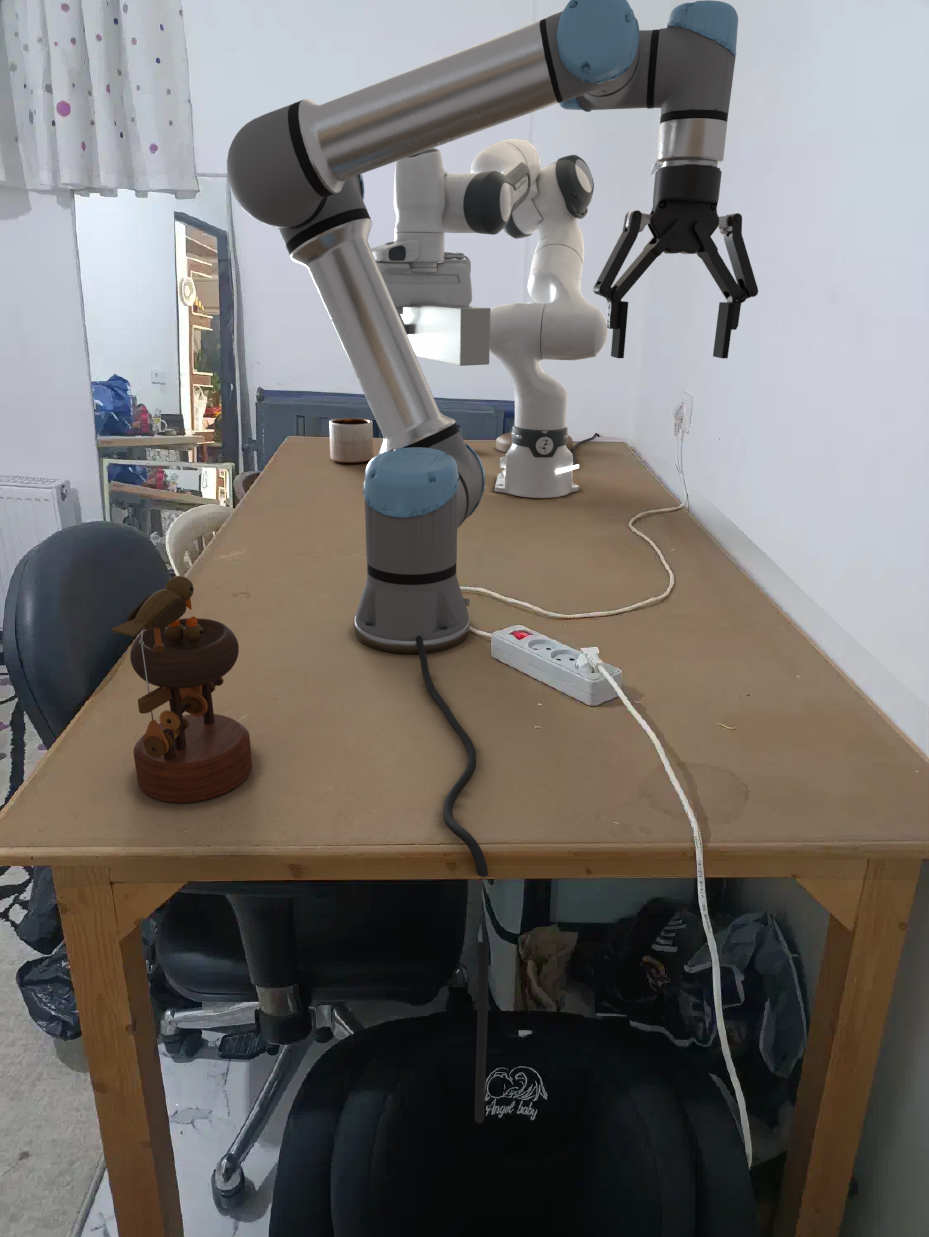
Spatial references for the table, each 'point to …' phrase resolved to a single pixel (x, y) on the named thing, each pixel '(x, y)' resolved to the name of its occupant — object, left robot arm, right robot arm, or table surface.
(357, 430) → the planter
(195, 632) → the music box
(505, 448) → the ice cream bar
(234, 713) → the table surface
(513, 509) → the table surface
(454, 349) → the bar
